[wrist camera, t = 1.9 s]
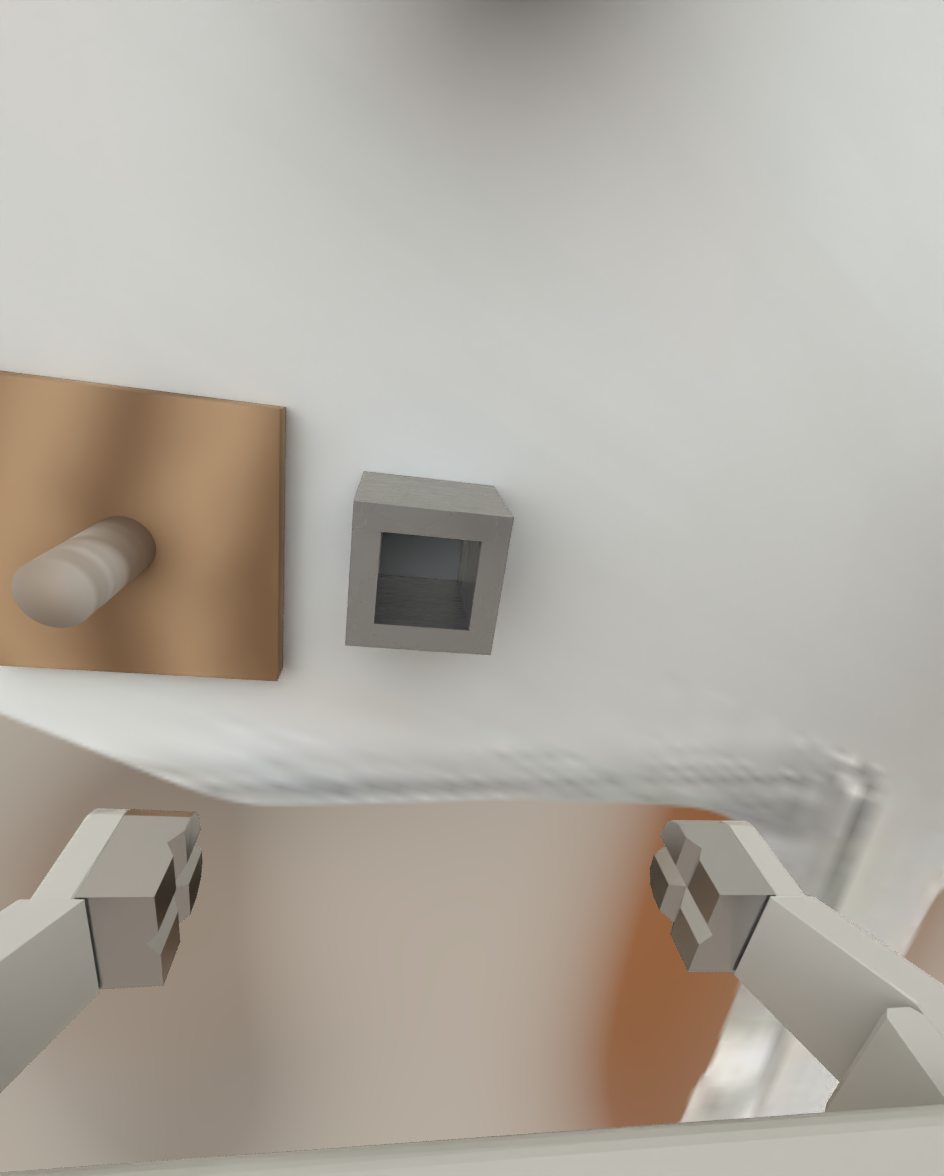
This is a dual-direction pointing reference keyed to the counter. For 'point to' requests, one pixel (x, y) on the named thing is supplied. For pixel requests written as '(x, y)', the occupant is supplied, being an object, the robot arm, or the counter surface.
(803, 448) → the counter surface
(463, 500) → the square sleeve
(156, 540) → the post block
